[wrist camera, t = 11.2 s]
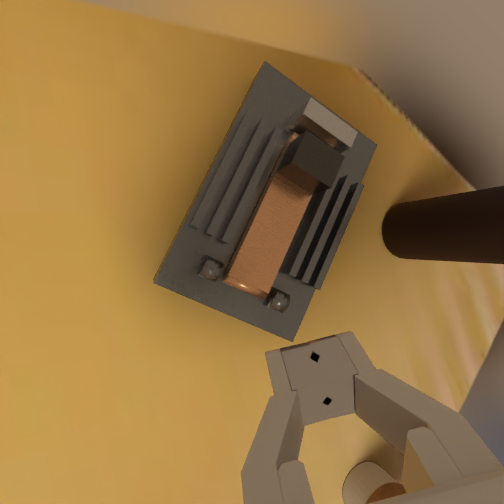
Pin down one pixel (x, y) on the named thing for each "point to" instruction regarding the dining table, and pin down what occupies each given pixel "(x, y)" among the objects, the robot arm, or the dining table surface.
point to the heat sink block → (247, 197)
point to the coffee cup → (369, 485)
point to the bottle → (449, 228)
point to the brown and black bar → (281, 211)
